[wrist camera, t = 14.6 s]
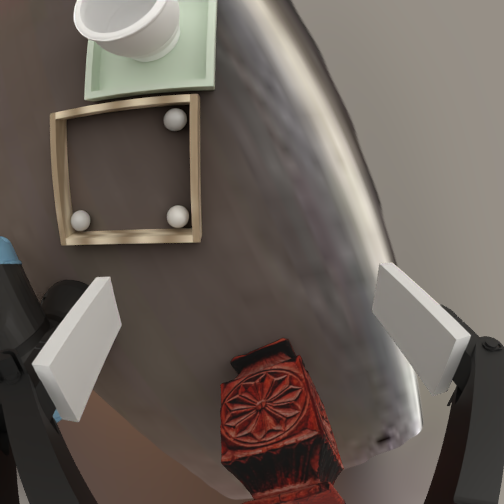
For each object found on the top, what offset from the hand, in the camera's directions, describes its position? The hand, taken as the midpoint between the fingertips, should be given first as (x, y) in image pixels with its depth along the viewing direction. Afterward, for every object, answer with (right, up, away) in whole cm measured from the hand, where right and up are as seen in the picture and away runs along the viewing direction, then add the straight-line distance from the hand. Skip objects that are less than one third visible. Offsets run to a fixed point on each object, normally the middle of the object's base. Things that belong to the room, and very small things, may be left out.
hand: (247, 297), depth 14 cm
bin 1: (-14, +33, +20) cm, 41 cm away
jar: (-14, +33, +20) cm, 41 cm away
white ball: (-26, +7, +29) cm, 40 cm away
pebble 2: (-10, +8, +30) cm, 33 cm away
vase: (+4, -19, +42) cm, 46 cm away
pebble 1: (-10, +20, +25) cm, 34 cm away
